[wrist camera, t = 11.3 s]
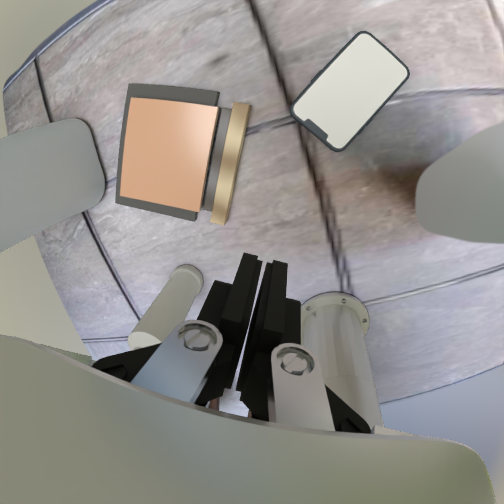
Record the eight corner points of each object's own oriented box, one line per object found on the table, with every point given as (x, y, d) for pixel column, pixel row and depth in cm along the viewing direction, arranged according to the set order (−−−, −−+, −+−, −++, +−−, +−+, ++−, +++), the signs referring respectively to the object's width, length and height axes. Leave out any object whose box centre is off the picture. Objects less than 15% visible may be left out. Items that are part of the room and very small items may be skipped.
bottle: (203, 294, 48) (143, 424, 25) (173, 287, 48) (100, 407, 25) (205, 267, 45) (137, 397, 23) (173, 260, 46) (89, 379, 23)
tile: (218, 107, 33) (131, 97, 33) (198, 212, 39) (120, 195, 39) (219, 107, 34) (135, 97, 34) (201, 209, 40) (123, 193, 40)
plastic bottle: (88, 108, 36) (-73, 139, 11) (115, 198, 42) (-26, 292, 17) (32, 145, 40) (-96, 193, 15) (56, 220, 46) (-58, 301, 20)
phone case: (360, 29, 28) (284, 111, 35) (362, 26, 27) (284, 110, 33) (410, 74, 30) (337, 155, 36) (414, 73, 28) (339, 156, 35)
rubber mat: (196, 219, 42) (194, 221, 41) (118, 201, 42) (115, 203, 41) (219, 92, 34) (217, 91, 33) (132, 84, 34) (128, 83, 33)
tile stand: (227, 219, 42) (224, 225, 40) (204, 214, 42) (199, 219, 40) (251, 105, 34) (248, 104, 32) (225, 100, 35) (221, 99, 33)
